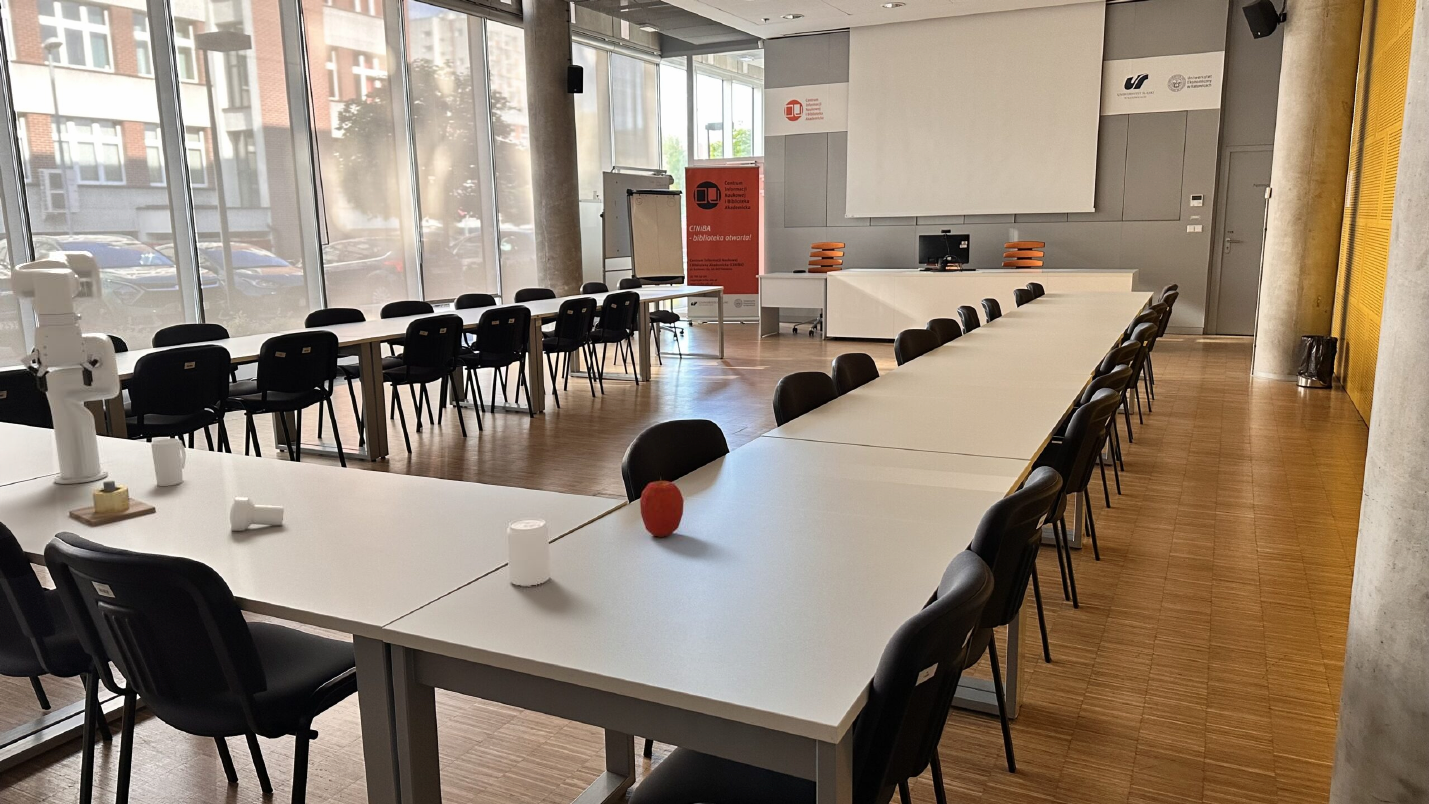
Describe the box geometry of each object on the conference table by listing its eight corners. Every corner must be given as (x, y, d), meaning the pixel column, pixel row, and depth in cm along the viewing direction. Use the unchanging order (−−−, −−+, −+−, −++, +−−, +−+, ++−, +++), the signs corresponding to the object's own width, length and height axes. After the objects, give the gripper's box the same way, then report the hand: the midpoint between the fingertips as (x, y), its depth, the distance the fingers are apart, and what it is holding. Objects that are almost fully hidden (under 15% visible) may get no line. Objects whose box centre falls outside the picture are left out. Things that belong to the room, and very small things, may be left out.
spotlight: (228, 520, 221) (232, 490, 219) (280, 523, 226) (285, 493, 224) (227, 536, 214) (231, 505, 212) (281, 538, 220) (286, 508, 218)
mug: (171, 486, 255) (166, 444, 253) (150, 485, 256) (145, 443, 254) (198, 477, 264) (193, 436, 262) (177, 476, 266) (172, 435, 263)
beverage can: (511, 573, 190) (509, 517, 188) (551, 572, 190) (549, 516, 188) (506, 589, 182) (503, 530, 180) (548, 587, 183) (545, 529, 180)
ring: (90, 510, 230) (87, 490, 229) (122, 503, 236) (119, 484, 235) (102, 515, 226) (100, 495, 225) (134, 508, 232) (132, 488, 231)
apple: (667, 545, 206) (666, 485, 204) (631, 537, 211) (629, 478, 209) (692, 532, 215) (692, 474, 212) (657, 525, 220) (656, 468, 217)
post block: (69, 515, 230) (65, 483, 228) (131, 502, 241) (127, 471, 239) (93, 526, 221) (88, 493, 220) (155, 511, 232) (152, 480, 231)
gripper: (89, 317, 240) (98, 382, 243) (10, 322, 226) (20, 392, 229) (102, 318, 235) (110, 385, 238) (21, 324, 222) (31, 395, 225)
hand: (66, 388), depth 234 cm, fingers open, 9 cm apart
